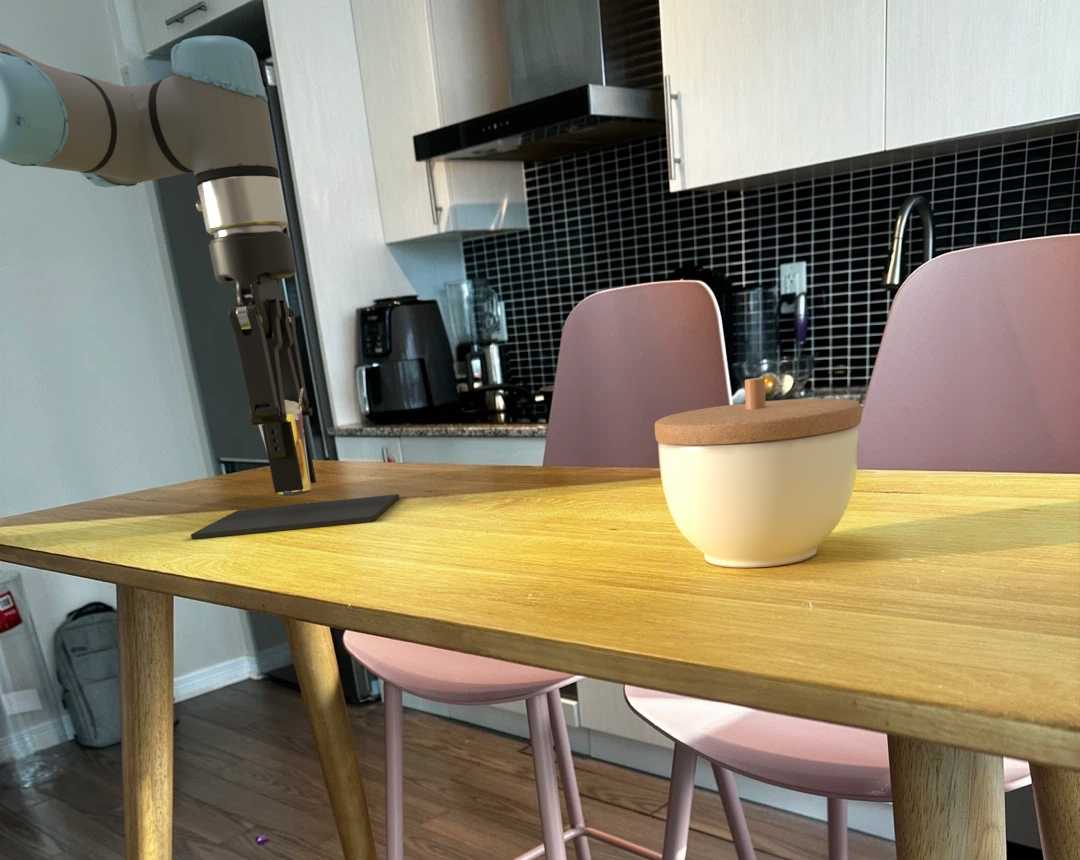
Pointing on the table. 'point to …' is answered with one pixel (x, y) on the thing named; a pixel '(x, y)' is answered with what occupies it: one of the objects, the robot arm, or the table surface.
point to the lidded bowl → (759, 475)
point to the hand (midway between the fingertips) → (295, 486)
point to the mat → (298, 516)
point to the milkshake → (297, 443)
